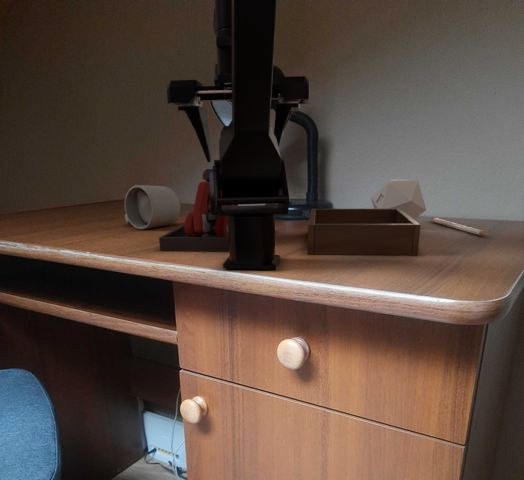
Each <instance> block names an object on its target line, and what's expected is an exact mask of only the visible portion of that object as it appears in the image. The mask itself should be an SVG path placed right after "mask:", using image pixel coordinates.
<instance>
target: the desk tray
mask: <svg viewBox="0 0 524 480" xmlns="http://www.w3.org/2000/svg"><path fill="white" fill-rule="evenodd" d="M158 243H159V251H160V252H161V251H162V252H229V237H216V234H214V235H210V234H203V235H202V237H188V236H187V234H186V232H185V223H183V224H181V225H180V226H178V227H176V228H174V229H172V230H170V231H168V232H167V233H165V234H163V235H161V236H159V237H158Z"/></svg>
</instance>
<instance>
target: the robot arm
mask: <svg viewBox="0 0 524 480" xmlns="http://www.w3.org/2000/svg"><path fill="white" fill-rule="evenodd" d="M277 5H278V0H214V8H213V20H212V27H213V33H214V36H215V41H216V42H215V45H216V63H215V64H214V69H213V82H214V85H204V84H203V83H201V82H200V81H199V80H197V79H176V80H175V79H174V80H173V79H172V80H170V81H169V82H168V84H167V87H166V99H167V101H166V102H167V104H169V105H170V106H173V107H175V108H177V111H178V112H181V113H183V114H186V116H187V118H188V120H189V121H190V124H191V126H192V127H193V130H194V132H195V134H196V136H197V139H198V141H199V144H200V146H201V149H202V151H203V154H204V156H205V159H206V162H207V163H212V160H213V165H212V168H211V169H212V170H211V171H210V172H209V185H210V202H211V215H217V216H218V217H221V216H227V215H228V234H229V251H228V255H229V256H228V257H227V258H226V260H225V261H224V262H223V263H222V269H226V270H227V269H228V270H229V269H230V270H231V269H232V270H235V269H236V270H241V269H242V270H276V269H277V268H278V265H279V263H280V260H281V255H280V254H276V215H284V216H285V215H286V216H287V215H289V210H290V209H289V208H290V193H289V186H288V180H287V172H286V164H285V160H284V158H282V156H281V152H280V148H281V144H282V141H283V137H284V133H285V130H286V128H287V125H288V123H289V120H290V119H291V116H292V114H293V113H294V112H300V110H301V105H308V104H310V90H311V89H310V88H311V87H310V85H311V84H310V82H311V81H310V80H309V79H308V77H306V76H305V75H296V76H278V83H273V74H274V60H275V59H274V58H275V43H276V41H275V40H276V26H277V25H276V23H277V9H278V7H277ZM272 100H277V101H278V102H279V103H276V105H275V115H274V125H273V126H274V127H273V128H272V125H271V110H272V109H271V108H272ZM222 101H223V102H224V101H225V102H227V101H231V120H230V122H229V124H228V125H223V126H222V129H221V131H220V137H219V140H218V154H219V155H218V156H219V157H218V159H212V145H211V137H210V132H209V125H208V109H207V108H204V107H203V104H204V102H222ZM221 190H222V197H221ZM222 205H238V206H222Z"/></svg>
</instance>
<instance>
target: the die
mask: <svg viewBox="0 0 524 480" xmlns="http://www.w3.org/2000/svg"><path fill="white" fill-rule="evenodd" d="M370 201H371V204H372V207H373V209H401V210H403V211H404V212H405V213H406V214H408V215H409V216H410V217H411V218H413V219H414V220H415V221H416V219H417V218H419V216H421V215H422V214H423V213H425V212H426V211H427V208H426V204H425V200H424V196H423V192H422V190H421V186H420V182H419V180H418V179H395V178H393V179H391V180H389V181H388V182H387V183H385V184H384V185H383V186H382V187H381V188H380V189H379V190H378V191H376V192H375V193H374V194H373V195H372V196H371V197H370Z"/></svg>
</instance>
